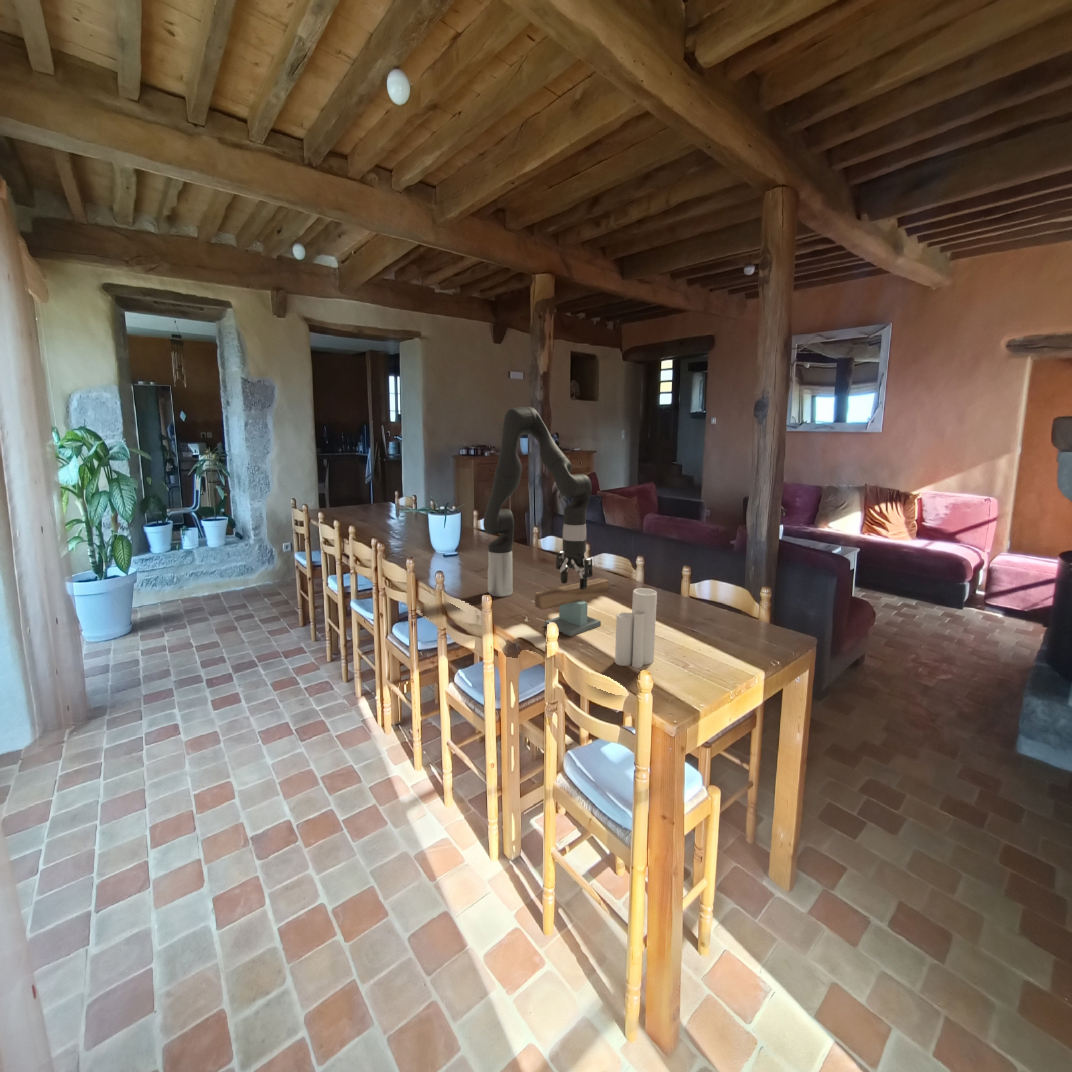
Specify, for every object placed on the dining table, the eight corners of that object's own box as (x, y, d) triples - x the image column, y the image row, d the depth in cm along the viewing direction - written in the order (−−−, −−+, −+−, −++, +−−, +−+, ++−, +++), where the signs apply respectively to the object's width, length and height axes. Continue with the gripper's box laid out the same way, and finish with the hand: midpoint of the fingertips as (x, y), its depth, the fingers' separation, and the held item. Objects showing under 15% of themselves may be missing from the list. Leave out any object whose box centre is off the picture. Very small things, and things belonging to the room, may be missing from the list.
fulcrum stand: (544, 625, 178) (545, 599, 176) (574, 616, 187) (575, 591, 185) (570, 636, 169) (570, 609, 168) (600, 625, 178) (601, 599, 177)
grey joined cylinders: (642, 652, 157) (645, 587, 153) (659, 662, 151) (663, 593, 147) (611, 661, 152) (613, 593, 148) (628, 671, 146) (630, 600, 142)
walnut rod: (535, 606, 170) (535, 592, 169) (599, 590, 186) (600, 577, 185) (542, 609, 167) (542, 596, 166) (608, 593, 183) (608, 580, 182)
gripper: (550, 535, 175) (550, 583, 178) (582, 542, 165) (581, 593, 168) (567, 532, 180) (566, 579, 183) (599, 539, 169) (597, 588, 173)
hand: (573, 586), depth 176 cm, fingers open, 8 cm apart
